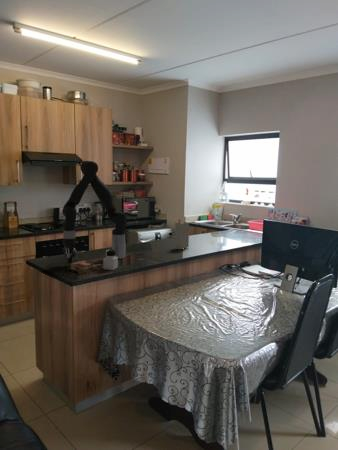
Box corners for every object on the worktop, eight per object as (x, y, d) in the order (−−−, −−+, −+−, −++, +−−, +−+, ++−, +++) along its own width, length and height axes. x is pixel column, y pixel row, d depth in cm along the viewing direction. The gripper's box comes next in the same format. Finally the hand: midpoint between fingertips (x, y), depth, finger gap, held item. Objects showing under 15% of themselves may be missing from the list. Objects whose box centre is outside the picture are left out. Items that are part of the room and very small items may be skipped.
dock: (93, 266, 232) (93, 262, 232) (102, 268, 227) (102, 264, 227) (72, 271, 219) (72, 267, 218) (80, 274, 214) (80, 269, 213)
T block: (83, 266, 232) (83, 260, 232) (94, 269, 226) (94, 263, 225) (70, 269, 224) (70, 263, 224) (82, 272, 218) (82, 266, 217)
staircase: (188, 248, 296) (189, 218, 292) (179, 250, 287) (180, 219, 283) (181, 247, 301) (182, 217, 297) (172, 249, 292) (173, 218, 289)
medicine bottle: (117, 267, 232) (118, 249, 230) (113, 270, 225) (113, 251, 223) (107, 266, 233) (107, 248, 231) (103, 269, 226) (103, 250, 225)
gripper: (80, 237, 229) (81, 263, 232) (67, 235, 237) (68, 260, 240) (71, 239, 223) (71, 266, 226) (58, 236, 231) (58, 262, 234)
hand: (69, 263), depth 233 cm, fingers closed
